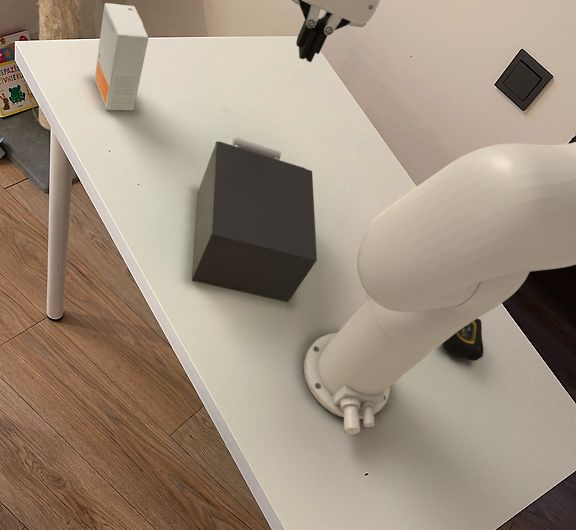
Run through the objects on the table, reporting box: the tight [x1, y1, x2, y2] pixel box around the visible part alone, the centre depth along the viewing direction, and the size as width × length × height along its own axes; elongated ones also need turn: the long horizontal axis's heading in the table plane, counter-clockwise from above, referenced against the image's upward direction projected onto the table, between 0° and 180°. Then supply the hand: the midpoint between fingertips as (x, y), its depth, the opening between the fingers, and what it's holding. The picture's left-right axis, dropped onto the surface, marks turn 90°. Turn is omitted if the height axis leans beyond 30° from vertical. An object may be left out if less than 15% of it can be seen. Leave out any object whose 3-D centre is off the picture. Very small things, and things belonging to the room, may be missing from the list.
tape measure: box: [441, 318, 484, 362], centre depth 90 cm, size 7×7×4 cm
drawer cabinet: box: [191, 140, 318, 303], centre depth 80 cm, size 16×14×10 cm
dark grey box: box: [218, 136, 306, 169], centre depth 81 cm, size 19×12×8 cm, turn 1°
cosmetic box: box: [93, 2, 149, 111], centre depth 82 cm, size 6×4×12 cm
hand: (304, 53), depth 77 cm, fingers closed
